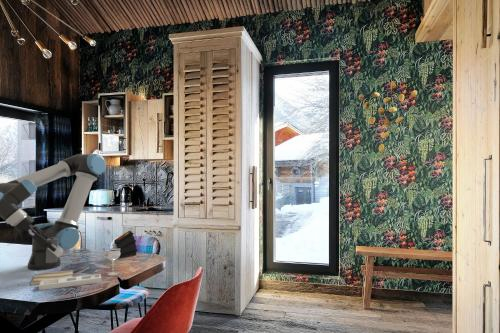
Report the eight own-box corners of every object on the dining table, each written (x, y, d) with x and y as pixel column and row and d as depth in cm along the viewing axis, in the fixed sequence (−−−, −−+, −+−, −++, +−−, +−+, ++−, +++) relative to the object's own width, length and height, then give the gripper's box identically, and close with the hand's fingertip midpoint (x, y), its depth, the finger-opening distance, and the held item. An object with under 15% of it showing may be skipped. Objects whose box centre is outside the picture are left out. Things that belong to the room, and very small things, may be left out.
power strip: (40, 286, 145) (41, 279, 145) (100, 279, 156) (100, 273, 156) (38, 291, 139) (39, 284, 139) (101, 283, 150) (101, 277, 150)
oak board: (35, 276, 159) (35, 274, 159) (72, 272, 166) (72, 270, 166) (30, 286, 145) (30, 283, 145) (71, 281, 152) (71, 279, 152)
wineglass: (105, 276, 160) (106, 251, 161) (105, 272, 166) (106, 248, 167) (120, 274, 163) (120, 250, 163) (120, 271, 169) (120, 247, 169)
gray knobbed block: (46, 260, 156) (47, 236, 156) (57, 259, 158) (58, 236, 158) (45, 263, 152) (46, 238, 152) (56, 262, 154) (57, 237, 154)
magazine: (141, 251, 206) (132, 231, 201) (123, 264, 196) (113, 243, 192) (138, 250, 208) (129, 230, 204) (120, 263, 199) (110, 242, 194)
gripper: (17, 224, 157) (56, 256, 163) (9, 229, 141) (53, 264, 148) (30, 212, 159) (68, 244, 166) (24, 216, 144) (66, 251, 150)
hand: (61, 253), depth 157 cm, fingers closed on gray knobbed block, 4 cm apart
